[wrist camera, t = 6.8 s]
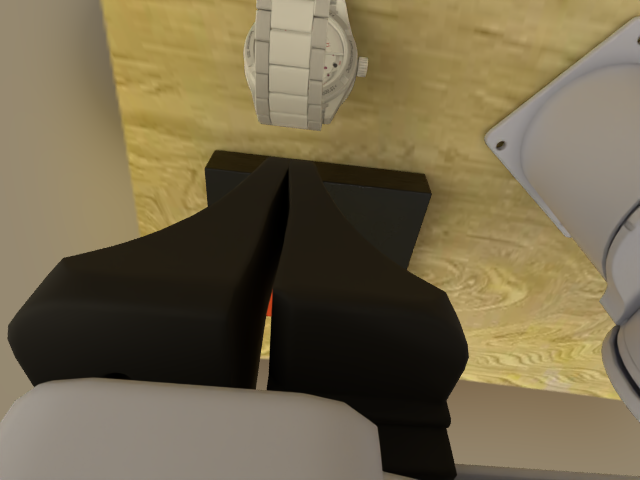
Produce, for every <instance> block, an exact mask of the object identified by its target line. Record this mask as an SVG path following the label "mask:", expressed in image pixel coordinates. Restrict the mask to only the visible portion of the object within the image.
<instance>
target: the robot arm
mask: <svg viewBox="0 0 640 480" xmlns="http://www.w3.org/2000/svg"><path fill="white" fill-rule="evenodd" d="M639 37H640V16H637V17H634V18H633V19H631V20H630V21H628V22H627V23H626V24H624V25H623V26H622V27H621V28H619V29H618V30H617V31H615V32H614V33H613V34H612V35H610V36H609V37H608V38H607V39H605V40H604V41H603V42H601V43H600V44H599V45H598V46H596V47H595V48H594V49H592V50H591V51H590V52H589V53H587V54H586V55H585V56H584V57H582V58H581V59H580V60H578V61H577V62H576V63H575V64H573V65H572V66H571V67H569V68H568V69H567V70H566V71H564V72H563V73H562V74H561V75H559V76H558V77H557V78H555V79H554V80H553V81H552V82H550V83H549V84H548V85H546V86H545V87H544V88H543V89H541V90H540V91H539V92H537V93H536V94H535V95H534V96H532V97H531V98H530V99H529V100H527V101H526V102H525V103H523V104H522V105H521V106H520V107H518V108H517V109H516V110H514V111H513V112H512V113H511V114H509V115H508V116H507V117H506V118H504V119H503V120H502V121H500V122H499V123H498V124H497V125H495V126H494V127H493V128H491V129H490V130H489V131H488V132H487V133H486V135H485V137H484V141H485V143H486V144H487V146H488V147H489V148H490V149H491V150H492V152H493V153H494V154H495V155H496V156H497V157H498V159H499V160H500V161H501V162H502V163H503V164H504V166H505V167H506V168H507V169H508V170H509V171H510V173H511V174H512V175H513V176H514V177H515V178H516V180H517V181H518V182H519V183H520V184H521V185H522V187H523V188H524V189H525V190H526V191H527V192H528V194H529V195H530V196H531V197H532V198H533V199H534V201H535V202H536V203H537V204H538V205H539V206H540V208H541V209H542V210H543V211H544V212H545V213H546V215H547V216H548V217H549V218H550V219H551V220H552V222H553V223H554V224H555V225H556V226H557V227H558V229H559V230H560V231H561V232H562V233H563V234H564V236H566V237H569V238H571V237H572V238H573V239H574V241H575V242H576V243H577V244H578V246H579V247H580V248H581V250H582V251H583V252H584V253H585V255H586V256H587V257H588V259H589V260H590V261H591V262H592V264H593V265H594V266H595V268H596V269H597V270H598V271H599V273H600V274H601V275H602V277H603V278H604V279H605V280H606V282H607V283H608V284H607V289H606V291H605V293H604V295H603V296H602V298H601V299H600V301H599V302H600V303H601V304H602V306H603V307H604V309H605V310H606V311H607V313H608V314H609V316H610V317H611V318H612V320H613V321H614V323H615V324H616V326H614V327H613V328H612V329H611V330H610V331H609V332H608V333H607V335H606V337H605V339H604V340H603V344H602V350H601V352H602V361H603V364H604V367H605V370H606V373H607V375H608V377H609V379H610V381H611V383H612V385H613V387H614V389H615V390H616V392H617V393H618V395H619V396H620V398H621V399H622V401H623V402H624V403H625V405H626V406H627V408H628V409H629V410H630V412H631V413H632V414H633V415H634V417H635V418H636V419H637V420H638V421H639V422H640V42H639V43H638V39H639ZM501 141H504V144H503V145H502V146H501V147H496V145H497V144H498V143H499V142H501ZM272 290H273V291H272ZM271 294H272V314H271V336H270V359H269V377H268V384H267V390H256V383H257V376H258V369H259V362H260V355H261V348H262V341H263V334H264V327H265V320H266V315H267V310H268V306H269V302H270V298H271ZM8 341H9V344H10V346H11V348H12V351H13V353H14V355H15V358H16V359H17V361H18V362H19V364H20V366H21V367H22V369H23V370H24V372H25V373H26V375H27V377H28V378H29V380H30V381H31V383H32V384H33V386H34V388H33V389H32V390H30V391H28V392H27V393H26V394H24V395H23V396H21V397H20V398H18V399H17V400H15V402H14V403H13V405H12V406H11V407H10V409H9V410H8V412H7V413H6V415H5V417H4V418H3V419H2V421H1V422H0V480H640V476H628V475H612V474H599V473H584V472H569V471H554V470H539V469H524V468H509V467H495V466H479V465H464V464H455V463H454V459H453V455H452V450H451V446H450V442H449V438H448V434H447V429H446V428H448V427H449V426H450V424H451V417H450V413H449V409H448V406H447V401H446V400H447V399H448V397H449V395H450V393H451V392H452V390H453V388H454V387H455V385H456V383H457V382H458V380H459V378H460V376H461V375H462V373H463V371H464V369H465V367H466V364H467V361H468V358H469V354H468V344H467V341H466V338H465V335H464V333H463V330H462V327H461V324H460V322H459V319H458V317H457V315H456V312H455V310H454V308H453V306H452V304H451V303H450V301H449V298H448V296H447V294H446V292H444V291H443V290H441V289H439V288H437V287H435V286H433V285H432V284H430V283H428V282H426V281H424V280H423V279H421V278H419V277H417V276H415V275H413V274H412V273H410V272H409V271H407V270H406V269H404V268H403V267H401V266H400V265H398V264H397V263H395V262H394V261H392V260H391V259H389V258H388V257H387V256H385V255H384V254H383V253H381V252H380V251H379V250H378V249H377V248H375V247H374V246H373V245H372V244H371V243H370V242H368V241H367V240H366V239H365V238H364V237H363V236H362V235H361V234H360V233H359V232H358V231H357V230H356V229H355V228H354V227H353V226H352V225H351V224H350V223H349V221H348V220H347V219H346V218H345V216H344V215H343V214H342V212H341V211H340V210H339V208H338V207H337V205H336V204H335V202H334V201H333V199H332V198H331V196H330V194H329V193H328V191H327V189H326V187H325V186H324V184H323V182H322V180H321V177H320V175H319V173H318V170H317V167H316V165H315V163H314V162H313V161H306V160H296V159H287V158H278V157H268V158H267V159H266V160H265V161H264V162H263V163H262V164H261V165H260V166H259V167H258V168H257V169H255V170H254V171H253V172H252V173H251V174H250V175H249V176H248V177H247V178H246V179H245V180H243V181H242V182H241V183H240V184H239V185H238V186H237V187H235V188H234V189H233V190H232V191H230V192H229V193H228V194H226V195H225V196H224V197H222V198H221V199H220V200H218V201H217V202H215V203H213V204H212V205H210V206H209V207H207V208H205V209H203V210H202V211H200V212H198V213H196V214H195V215H193V216H191V217H189V218H186V219H184V220H182V221H180V222H178V223H175V224H173V225H171V226H169V227H167V228H164V229H162V230H160V231H157V232H154V233H152V234H149V235H146V236H143V237H140V238H137V239H134V240H131V241H128V242H125V243H122V244H119V245H115V246H111V247H107V248H103V249H99V250H95V251H92V252H87V253H83V254H79V255H75V256H70V257H66V258H63V259H62V260H61V261H60V262H59V263H58V264H57V265H56V267H55V268H54V269H53V270H52V271H51V272H50V273H49V274H48V276H47V277H46V278H45V279H44V280H43V282H42V283H41V284H40V285H39V287H38V288H37V289H36V290H35V292H34V293H33V294H32V295H31V297H30V298H29V299H28V300H27V301H26V303H25V304H24V305H23V306H22V308H21V309H20V310H19V311H18V313H17V314H16V315H15V317H14V318H13V319H12V321H11V322H10V324H9V325H8Z"/></svg>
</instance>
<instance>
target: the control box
mask: <svg viewBox="0 0 640 480" xmlns="http://www.w3.org/2000/svg"><path fill="white" fill-rule="evenodd" d="M268 157H270V156H262V155H253V154H244V153H236V152H227V151H218V150H215V151H214V153H213V155H212V156H211V158H210V160H209V162H208V163H207V165H206V167H205V179H206V191H207V202H208V207H209V206H210V205H212V204H213V203H215V202H217V201H218V200H220V199H221V198H222V197H224V196H225V195H226V194H228V193H229V192H230V191H232V190H233V189H234V188H235V187H237V186H238V185H239V184H240V183H241V182H242V181H243V180H245V179H246V178H247V177H248V176H249V175H250V174H251V173H252V172H253V171H254V170H255V169H257V168H258V167H259V166H260V165H261V164H262V163H263V162H264V161H265V160H266V159H267V158H268ZM278 158H279V157H278ZM287 159H288V158H287ZM296 160H297V159H296ZM313 162H314V161H313ZM314 163H315V165H316V167H317V170H318V173H319V175H320V177H321V180H322V182H323V184H324V186H325V187H326V189H327V191H328V193H329V194H330V196H331V198H332V199H333V201H334V202H335V204H336V205H337V207H338V208H339V210H340V211H341V212H342V214H343V215H344V216H345V218H346V219H347V220H348V221H349V223H350V224H351V225H352V226H353V227H354V228H355V229H356V230H357V231H358V232H359V233H360V234H361V235H362V236H363V237H364V238H365V239H366V240H367V241H368V242H370V243H371V244H372V245H373V246H374V247H375V248H377V249H378V250H379V251H380V252H381V253H383V254H384V255H385V256H387V257H388V258H389V259H391V260H392V261H394V262H395V263H397V264H398V265H400V266H401V267H403V268H404V269H406V270H407V267H408V264H409V261H410V258H411V255H412V252H413V249H414V246H415V243H416V240H417V237H418V234H419V231H420V228H421V225H422V222H423V219H424V216H425V213H426V210H427V207H428V204H429V201H430V198H431V195H432V193H431V190H430V187H429V185H428V182H427V179H426V176H425V174H419V173H410V172H401V171H392V170H384V169H375V168H366V167H358V166H349V165H340V164H331V163H323V162H314Z"/></svg>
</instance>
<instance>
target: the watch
mask: <svg viewBox="0 0 640 480" xmlns="http://www.w3.org/2000/svg"><path fill="white" fill-rule="evenodd" d="M256 7H257V9H258V10H257V11H256V21H255V23H254V24H253V26H252V27H251V29H250V31H249V33H248V35H247V37H246V40H245V45H244V65H245V66H244V68H245V76H246V80H247V83H248V86H249V88H250V90H251V92H252V97H253V101H254V106H255V110H256V114H257V117H258V121H259V122H260V124H266V125H274V126H283V127H291V128H299V129H309V130H317V131H321V127H322V124H330V123H331V121H332V120H333V118H334V116H335V114H336V112H337V111H338V109H339V107H340V106H341V104H343V102H345V100H346V98H348V96H349V94H350V93H351V91H352V88H353V86H354V83H355V78H356V76H359V77H365V76H366V73H367V68H368V58H366V57H359V58H358V54H357V46H356V42H355V40H354V37H353V34H352V31H351V27H350V23H349V19H348V13H347V7H346V2H345V0H257V4H256ZM357 59H358V60H357Z"/></svg>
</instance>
